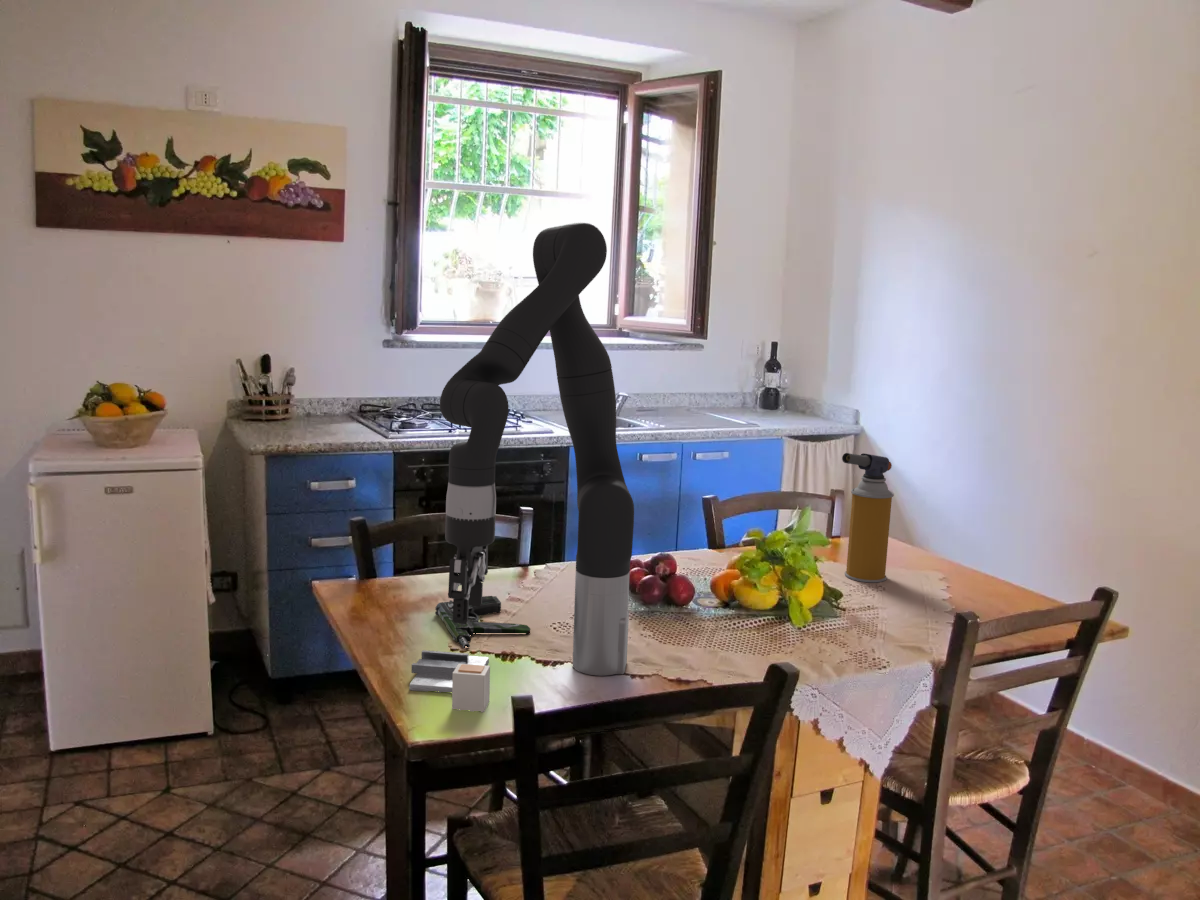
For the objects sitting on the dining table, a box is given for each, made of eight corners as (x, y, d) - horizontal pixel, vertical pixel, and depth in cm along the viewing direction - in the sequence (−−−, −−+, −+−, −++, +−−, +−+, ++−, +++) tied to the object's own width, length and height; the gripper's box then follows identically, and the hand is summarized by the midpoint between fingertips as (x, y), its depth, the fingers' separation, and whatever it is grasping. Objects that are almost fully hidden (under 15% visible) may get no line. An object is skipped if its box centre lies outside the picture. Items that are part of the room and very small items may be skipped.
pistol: (537, 649, 191) (458, 655, 185) (503, 608, 210) (430, 611, 205) (539, 633, 190) (459, 638, 185) (504, 592, 210) (431, 596, 204)
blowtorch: (895, 578, 239) (907, 450, 234) (853, 589, 229) (863, 456, 224) (862, 568, 246) (872, 444, 241) (819, 579, 236) (829, 449, 231)
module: (489, 701, 163) (490, 664, 162) (483, 712, 159) (484, 673, 158) (458, 699, 164) (458, 662, 163) (452, 709, 160) (452, 671, 159)
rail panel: (488, 662, 179) (489, 649, 179) (470, 694, 165) (470, 680, 165) (426, 658, 180) (426, 644, 180) (403, 689, 166) (403, 675, 166)
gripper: (483, 524, 149) (480, 631, 152) (505, 503, 163) (502, 602, 166) (433, 520, 150) (430, 626, 153) (459, 499, 164) (456, 597, 167)
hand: (467, 613), depth 160 cm, fingers open, 8 cm apart
